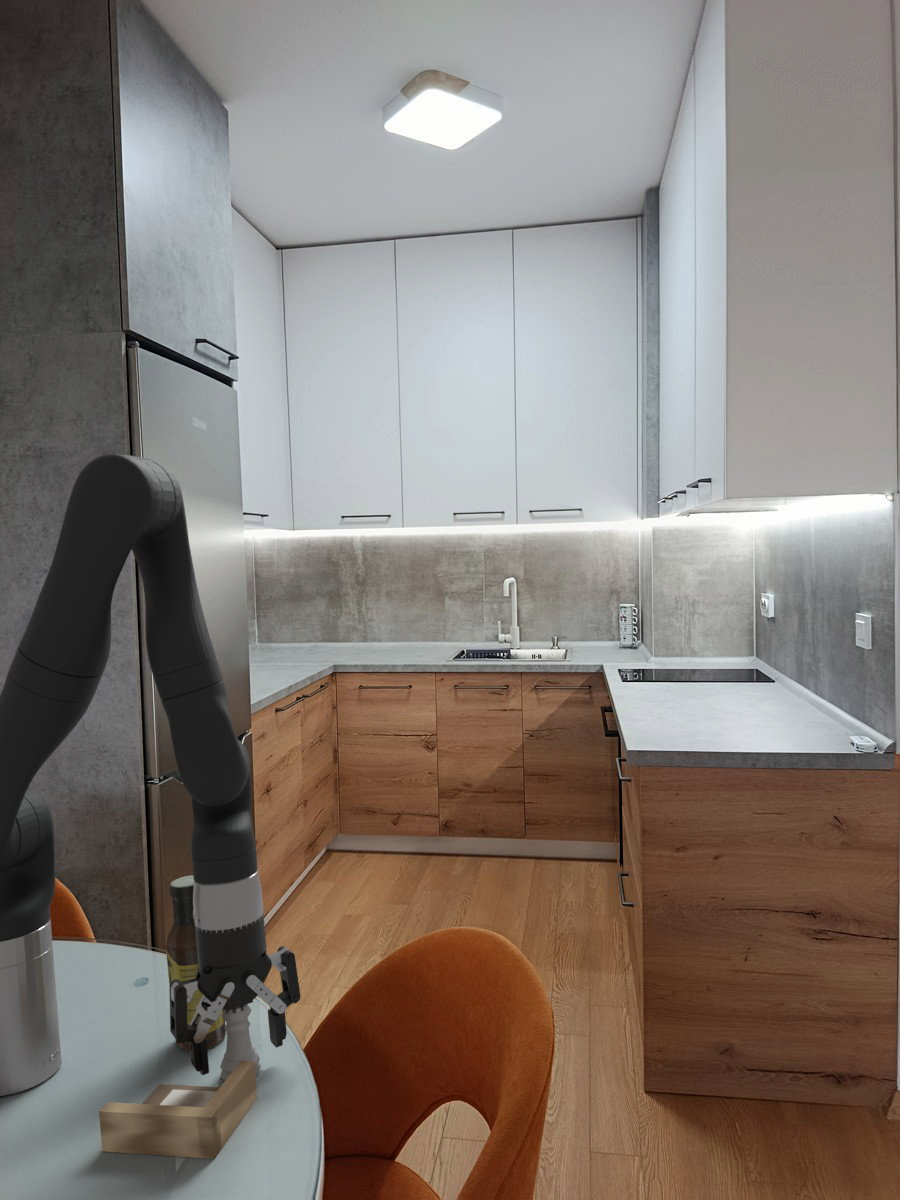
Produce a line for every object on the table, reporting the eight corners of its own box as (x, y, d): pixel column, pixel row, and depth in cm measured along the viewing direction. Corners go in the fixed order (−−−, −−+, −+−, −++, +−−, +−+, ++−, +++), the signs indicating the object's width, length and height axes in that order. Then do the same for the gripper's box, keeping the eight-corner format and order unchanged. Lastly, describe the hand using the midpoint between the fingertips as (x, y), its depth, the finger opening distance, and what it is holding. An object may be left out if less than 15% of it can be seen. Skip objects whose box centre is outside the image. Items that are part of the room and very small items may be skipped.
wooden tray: (102, 1151, 85) (99, 1111, 84) (159, 1087, 95) (157, 1051, 95) (214, 1158, 82) (211, 1117, 82) (260, 1092, 93) (258, 1055, 93)
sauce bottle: (188, 1027, 109) (176, 870, 108) (235, 1027, 108) (223, 869, 107) (164, 1054, 102) (151, 888, 102) (213, 1055, 101) (200, 887, 101)
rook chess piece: (220, 1089, 94) (215, 1017, 94) (220, 1068, 98) (215, 999, 98) (262, 1080, 95) (257, 1009, 95) (260, 1060, 99) (255, 991, 99)
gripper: (174, 942, 89) (187, 1097, 89) (301, 906, 97) (313, 1048, 97) (155, 922, 95) (167, 1067, 96) (276, 889, 103) (287, 1023, 103)
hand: (241, 1057), depth 96 cm, fingers open, 8 cm apart
